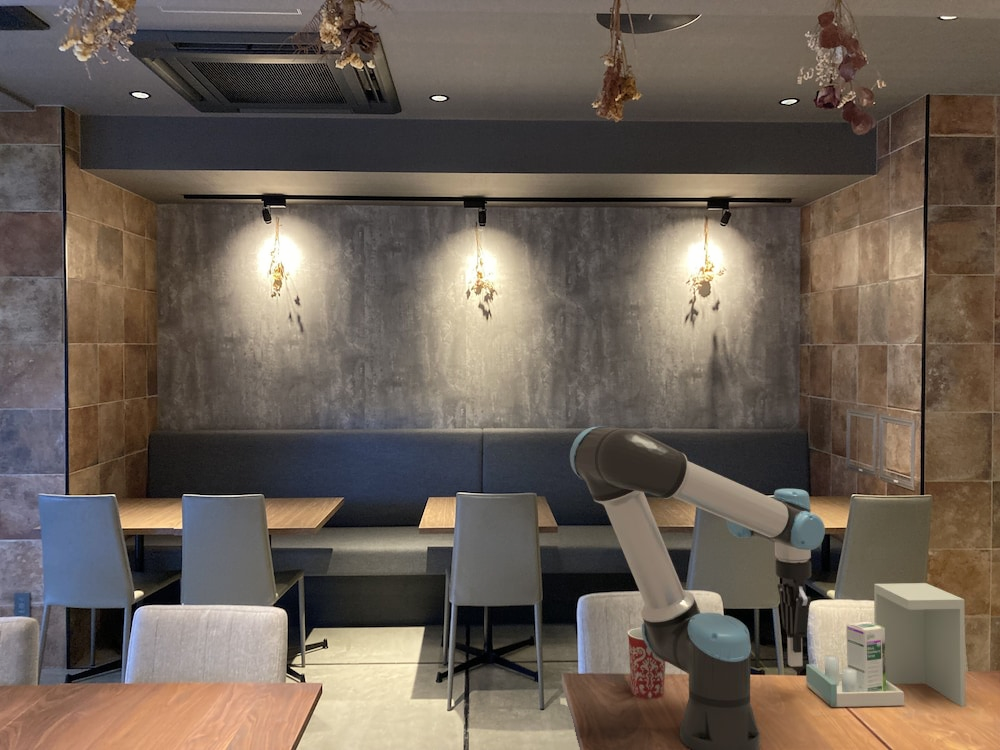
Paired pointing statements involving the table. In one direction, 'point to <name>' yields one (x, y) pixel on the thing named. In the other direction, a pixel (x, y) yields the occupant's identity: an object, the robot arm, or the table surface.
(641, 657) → the mug
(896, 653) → the white open shelf
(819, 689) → the tray
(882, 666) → the syrup box
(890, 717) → the table surface
